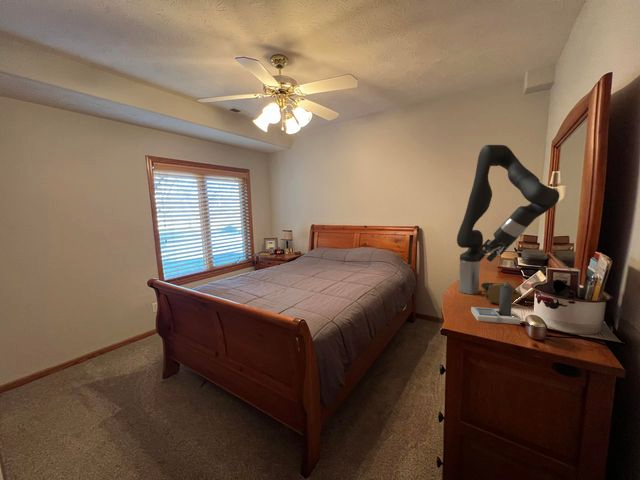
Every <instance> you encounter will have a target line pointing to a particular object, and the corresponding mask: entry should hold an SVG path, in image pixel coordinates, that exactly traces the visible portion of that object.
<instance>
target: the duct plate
mask: <svg viewBox="0 0 640 480" xmlns="http://www.w3.org/2000/svg"><path fill="white" fill-rule="evenodd" d="M470 308H471V309H470V313H472V315H473V317H474V318H475V319H476V321H477V322H486V323H487V322H488V323H499V324H511V325H521V324H520V323H519V322H518V321H520V320H523V318H522V317H520V315H518V314H517V313H516V312H515V311H514V310H512V309H511V316H500V315H499V308H492V307H491V308H490V307H476V306H471V307H470ZM512 316H514V317H512Z"/></svg>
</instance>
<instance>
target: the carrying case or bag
mask: <svg viewBox="0 0 640 480" xmlns="http://www.w3.org/2000/svg"><path fill="white" fill-rule="evenodd" d="M489 284H495V282H483V283H481V285H480V286H481V288H483V290H484V291H488V285H489ZM509 285H510V286H511V285H512V284H510V283H509Z"/></svg>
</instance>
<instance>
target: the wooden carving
mask: <svg viewBox="0 0 640 480" xmlns="http://www.w3.org/2000/svg"><path fill="white" fill-rule="evenodd" d="M494 283H495V282H494ZM510 285H511V286H510ZM510 285H509V287H512V304H514V303H513V302H514V301H515V300H516V299H518V298H519V297H521V296H522V295H523V294H522V293H520V292H518V291H515V289H516V288H515V286H514V285H512V284H510ZM501 286H504V283H503V282H496V283H495V284H489V285H488V291H486V290H481V294H482V295H484V298H485V300H487V301H489V302H491V303H493V304H495V305H499V302H500V287H501Z"/></svg>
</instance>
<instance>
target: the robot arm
mask: <svg viewBox="0 0 640 480" xmlns="http://www.w3.org/2000/svg"><path fill="white" fill-rule="evenodd" d="M491 167H501V168H503V169H504V170H506V171H507V177H508V178H507V179H508V181H510V183H511V184H512V185H513V186H514V187H515V188H517V189H518V191H520V193H521V194H522V196H523V198H524V199H526V200H527V201H528V202H529V204H527V205H522V206H521V205H520V206H519V207H518V208H516V209H515V211H514V212H512V214H510V216H509V217H508V218H507V219H506V220H505V221H504V222H503V223H502V224H501V225H500V226H499V227H498V228H497V229H496V230H495V232H493V237H494V238H493V239H492V240H490V239H486V240H485V242H484V236H483V233H482V232H481V231H480V230H478V229H474V227H475V225H476V223H477V222H478V221H479V220H480V219H481V218H482V217H483V216H484V214H485V213H486V212H487V211H488V209H489V208H490V205H491V203H492V197H493V191H492V187H491V185H490V182H489V173H490V169H491ZM468 198H469V199H468V202H467V207H466V208H465V209H466V210H465V214H464V217H463V220H462V222H461V224H460V227H459V230H458V232H457V236H456V243H457V246H458V247H460V248H462V249H467V250H466V251H464V252H462V253H461V254H460V256H459V279H458V291H459V292H460V293H463V294H467V295H477V294H479V291H480V288H479V287H480V266H481V262H482V260H483V259H484V257H485V256H486V255H488V254H489V255H488V256H487V257H486V260H487V261H488V262H490V263H491V262H492V261H494V260H495V258H496V257H498V256H502V255H503V254H504V253H505V252H506V250H507V249H509V248H510V246H511V245H513V244H514V242H516V241H517V240H518V238H519V237H521V235H522V234H523V233H524V232H525V231H526V229H527V228H528V227H529V226H530V225H531V224H532V223H533V222H534V221H535V219H538V217H540V216H542V215H543V214H545V213H546V212H547V211H549V210H550V209H552V208H554V206H555V205H556V204H558V202H559V201H560V200H559V199H560V192H559V191H558V190H556V189H555V188H552V187H549V186H547V185H545V184H543V183H542V182H540V178H539V177H538V176H536V174H534V173H533V172H531V170H529V169H527V168H526V166H524V165H523V164H522V163H521V161H520V160H519V158H517V156H516V155H515V154H514V152H513V151H512V150H511V148H510V147H508V146H507V145H505V144H486V145H484V146H483V147H482V148H481V149H480V151H479V155H478V158H477V163H476V170H475V175H474V180H473V184H472V188H471V191H470V194H469V197H468Z"/></svg>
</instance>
